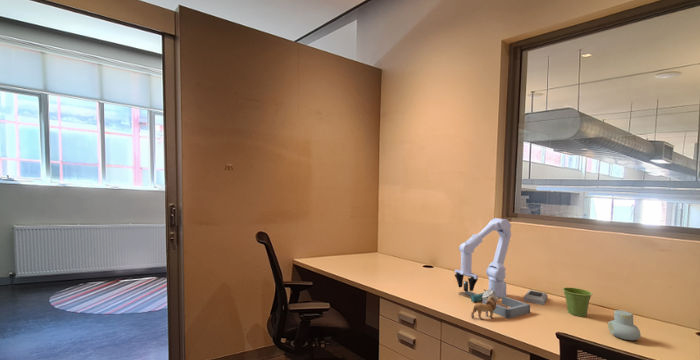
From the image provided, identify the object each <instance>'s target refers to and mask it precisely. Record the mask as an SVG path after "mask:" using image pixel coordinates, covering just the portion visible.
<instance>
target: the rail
mask: <svg viewBox="0 0 700 360" xmlns="http://www.w3.org/2000/svg"><path fill="white" fill-rule="evenodd" d="M458 295H459V296H462V297H465V298H467V299H469V300H471V295H468V294H465V291H460V292H459V291H458Z"/></svg>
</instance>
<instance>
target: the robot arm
mask: <svg viewBox="0 0 700 360" xmlns="http://www.w3.org/2000/svg"><path fill="white" fill-rule="evenodd" d="M511 227H512V224H511V222H510V221H509V220H508V219H506V218H497V217H494V218H492V219H491V220H490V221H489V222H488V224H486V226H485V227H483V228H482V229H481V231H479V232H478V233H475V234H472V235H470V236H471V237H469V238H468V239H467V240H465V242H463V243H461V244H460V245H459V247H458V249H459V252H460V269H454V277H455V279H456V281H457V284H458V288H462V287H463V286H464V277H468V278H467V281H468V291H471V292H473V291H474V288H475V285H476V284H477V281H478V279H479V276H478V274H475V273H473V272H472V268H473V267H472V264H473V263H472V256H473V255H472V254H473V253H474V252H475V249H476V248H477V247H478V246H479V245H481V243H482V242H483V239H484V238H485V237H487V236H488V235H490V233H492V232H494V231H496V232H497V234H498V235H499V237H498V241H497V242H498V243H497V246H496V250H495V252H494V257H493V260H492V261H491V262H490V263H489V265H488V266H487V268H486V270H485V274H486V275H487V278H488V290H491V289H492V290H493V291H495V293H496V294H497V295H498V296H500V297H498V299H499V298H501V299H502V296H505V297H508V296H509V295H508V294H507V284H506V283H507V282H506V281H505V279H506V267H505V265H504V263H505V260H506V256H507V253H508V248H509V245H510V244H509V243H510V241H511V237H512V233H511Z"/></svg>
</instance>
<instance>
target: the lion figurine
mask: <svg viewBox="0 0 700 360" xmlns="http://www.w3.org/2000/svg"><path fill="white" fill-rule="evenodd" d="M496 304H497V302H496V299H495V298H494V297H491V296H490V297H488V300H487V303H485V304H482V303H480V302H477V303H474V306H473V308H472V311H471V314H470V315H471V316H470V317H471V319H473V320H474V318H475V313H478V315H477V316H478V318H479V319H480V320H482V321H483V320H484V318H483V317H482V313H485V314H484V315H485V317H490V319H494V316H493V314H494V313H493V311H494V310H495V309H496ZM489 313H490V314H489Z"/></svg>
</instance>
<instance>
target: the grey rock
mask: <svg viewBox="0 0 700 360" xmlns="http://www.w3.org/2000/svg"><path fill="white" fill-rule="evenodd" d="M483 290H484V291H483V292H482V293H483V296H482V299H483V300H486V301H487V300H488V297H490V296H491V297H494V298H495V299H496V303H498V299H499V298H498V297H500V296H498V295H497V294H496V293H495V291H493V290H492V289H491V290H489V289H485V288H484V289H483Z"/></svg>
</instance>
